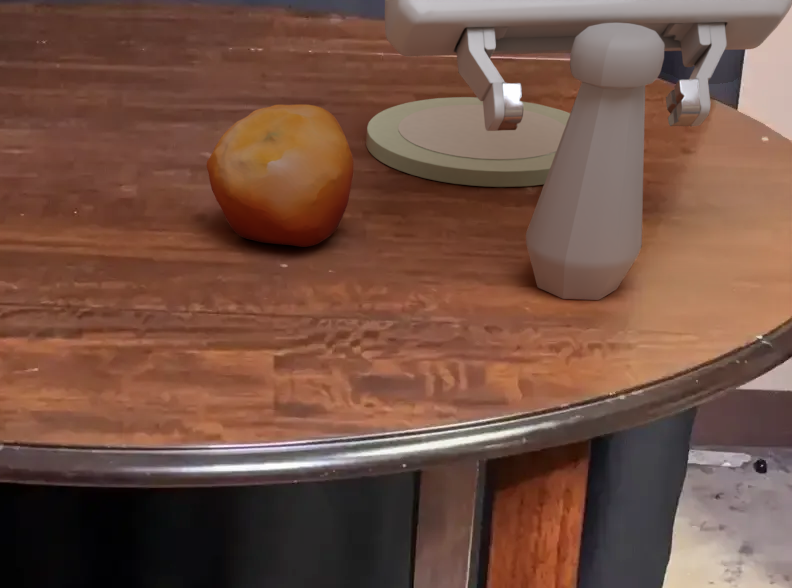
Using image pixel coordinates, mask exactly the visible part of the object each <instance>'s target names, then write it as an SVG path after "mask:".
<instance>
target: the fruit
mask: <svg viewBox="0 0 792 588" xmlns="http://www.w3.org/2000/svg"><path fill="white" fill-rule="evenodd" d="M346 137H347V136H346V135H345V133H344V131H343V128H342V126H340V123H339V122H338V120H337V119H336V117H335V116H334V115H333V114H332V113H330V112H329V110H326V109H325V108H323V107H321V106H317V105H314V104H313V105H312V104H301V103H300V104H298V103H297V104H274V105H271V106H265V107H262V108H258V109H255V110H252V112H251V113H249V114H248V115H247V116H245V117H243V118H241V119H239V120H237V121H236V122H234V123H233V124H232V125H231V126H230V127H229V128H228V129H227V130H225V132H224V133H223V135H222V136H221V137H220V138H219V140H218V142H217V143H216V145H215V147H214V149H213V150H212V152H211V153H210V156H209V158H208V159H207V161H206V169H207V173H208V179H209V184H210V187H211V190H212V193H213V196H214V197H215V200H216V201H217V203H218V205H219V207H220V209H221V211H222V213H223V215H224V218H225V219H226V221H227V223H228V224H229V226H230V227H231V230H232V231H233V232H234V233H235V234H236V235H238V236H239V237H241V238H242V239H243V238H244V239H247V240H249V241H250V240H251V241H254V242H259V243H265V244H274V245H283V246H295V247H301V248H306V247H312V246H316V245H318V244H320V243H322V242H323V241H324V240H326V239H327V238H329V237H331V236H332V235H333V234H334V233H335V232H336V231H338V228H339V226H340V224H341V222H342V219H343V217H344V215H345V212H346V211H347V207H348V204H349V200H350V195H351V189H352V184H353V177H354V174H355V173H354V172H355V166H354V164H355V163H354V158H353V153H352V151H351V148H350V145H349V143H348V140H347V138H346Z"/></svg>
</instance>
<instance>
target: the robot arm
mask: <svg viewBox="0 0 792 588" xmlns="http://www.w3.org/2000/svg"><path fill="white" fill-rule="evenodd" d="M791 8H792V0H384V32H385V38H386V40H387V41H388V43H389V44H390V45H391V46H392V47H393V48H394V49H395V51H396V52H397V53H398V54H400V56H403V57H443V56H456V63H457V71H458V72H457V73H458V74H459V75H460V77H461V78H462V80H463V81H464V82H465V84H467V86H468V88H470V90H471V91H472V93H473V94H474V95H475V97H478V99H479V100H480V101H483V109H484V120H485V128H486V130H487V131H500V130H516V129H517V127H518V126H517V124H519V123H520V122H521V120H522V117H523V103H522V102H521V101H522V97H523V87H522V83H521V82H506V81H505V79H504V78H503V77H502V75H501V74H500V72H499V70H498V69H497V67H496V65H495V64H494V63H493V61H492V60H491V58H492V56H493V55H538V54H539V55H540V54H545V55H546V54H571V49H572V46H573V43H574V40H575V37H576V36H578V35H579V34H580V33H581V32H582V31H584V30H585V29H586V28H587V27H589V26H593V25H598V24H603V23H630V24H635V25H640V26H643V27H646V28H649V29H651V30H654V31H656V33H657V34H658V35H659V37H660V38H661V39H662V41H663V42H664V52H681V57H682V66H684V68H692V67H694V68H693V70H692V72H691V73H690V77H689V78H688V79H679V80H678V81H677V82H676V84H675V85H674V87H673V88H674V89H672V90H670V91H669V92H668V94H667V95H666V97H665V101H666V102H665V104H666V111H667V112H668V113H669V115H668V117H667V121H668V122H667V123H668V125H669V127H699V126H701V125H702V124H703V123H704V122H705V120H706V119H707V118H708V117H709V115H710V112H711V105H712V103H711V94H710V86H709V81H710V79H711V78H712V76H713V74H714V72H715V70H716V68H717V66H718V64H719V62H720V60H721V58H722V57H723V54H724V52H725V51H726V50H728V51H730V50H732V51H733V50H735V51H736V50H740V51H741V50H743V51H745V50H754V49H757V48H758V47H760V46H761V45H762V44H763V43H764V42H765V41H766V40H767V39H768V38H769V36H771V34H772V33H773V32H774V31H775V30H776V29H777V28H778V26H780V25H781V23H782V21H783V20H784V19H785V17H786V16H787V14H788V13H789V11H790V10H791Z"/></svg>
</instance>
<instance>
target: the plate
mask: <svg viewBox="0 0 792 588" xmlns="http://www.w3.org/2000/svg"><path fill="white" fill-rule="evenodd" d="M520 101H521V102H522V103H523V117H522V120H521V122H520V123H519V124H517V126H518V127H517V129H516V130H500V131H487V130H486V128H485V120H484V109H483V101H480V100H479V99H478V97H477V96H474V97H473V96H461V97H460V96H457V97H456V96H455V97H454V96H453V97H452V96H450V97H438V98H437V97H436V98H429V99H428V98H426V99H421V100H414V101H409V102H405V103H400V104H397V105H394V106H391V107H388V108H386V109H384V110H382V111H379V112H377V113H376V114H375V115H374V116H373V117H371V118H370V120H369V121H368V123H367V126H366V134H365V146H366V148H367V150H368V153H370V154H371V156H372V157H374V159H376V160H378V161H379V162H381V163H382V164H384V165H386V166H388V167H390V168H392V169H394V170H396V171H399V172H402V173H405V174H408V175H411V176H414V177H418V178H422V179H427V180H432V181H436V182H441V183H447V184H453V185H461V186H470V187H487V188H520V187H533V186H542V185H543V186H544V184H545V181H546V178H547V175H548V173H549V170H550V167H551V165H552V162H553V159H554V156H555V154H556V151H557V148H558V146H559V143H560V140H561V137H562V135H563V132H564V129H565V127H566V124H567V121H568V118H569V116H570V113H571V112H568V111H565V110H562V109H559V108H555V107H551V106H548V105H543V104H539V103H534V102H528V101H522V100H520Z"/></svg>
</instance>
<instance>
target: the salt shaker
mask: <svg viewBox="0 0 792 588" xmlns="http://www.w3.org/2000/svg"><path fill="white" fill-rule="evenodd" d="M664 60H665V51H664V42H663V41H662V39H661V38H660V37H659V35H658V34H657V33H656V31H654V30H651V29H649V28H646V27H643V26H640V25H635V24H630V23H603V24H598V25H593V26H589V27H587V28H586V29H585V30H584V31H582V32H581V33H580V34H579V35H578V36H576V37H575V40H574V43H573V46H572V49H571V53H570V58H569V69H570V73H571V75H572V77H573V78H574V79H576V80H578V81H579V82H581V83H580V86H579V89H578V92H577V95H576V97H575V99H574V103H573V105H572V108H571V110H570V112H569V113H570V116H569V118H568V121H567V124H566V127H565V129H564V132H563V135H562V137H561V140H560V143H559V146H558V148H557V151H556V154H555V156H554V159H553V162H552V165H551V167H550V170H549V173H548V175H547V178H546V181H545V184H543V186H542V189H541V192H540V194H539V198H538V200H537V202H536V205H535V208H534V211H533V213H532V216H531V219H530V221H529V225H528V227H527V230H526V231H525V245H526V248H527V249H526V250H527V252H528V256H529V259H530V264H531V267H532V271H533V275H534V279H535V283H536V287H537V288H538V289H540V290H543V291H545V292H547V293H549V294H551V295H553V296H556V297H558V298H559V299H563V300H588V301H589V300H592V301H599V300H601V299H603V298H605V297H606V296H608V295H610V294H611V293H613V292H615V291H617V289H618V288H619V286H620V285H621V284H622V282H623V280H624V278H625V277H626V275H627V274H628V273H629V271H630V270H631V268H632V266H633V265H634V264H635V262H636V260H637V258H638V257H639V256H640V252H641V249H642V247H643V210H644V209H643V207H644V206H643V204H644V201H643V200H644V167H645V165H644V161H645V119H646V118H645V115H646V114H645V113H646V111H645V110H646V86H648V85H650V84H653V83H654V82H655V81H657V79H658V77H659V76H660V74H661V72H662V67H663V64H664Z"/></svg>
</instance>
